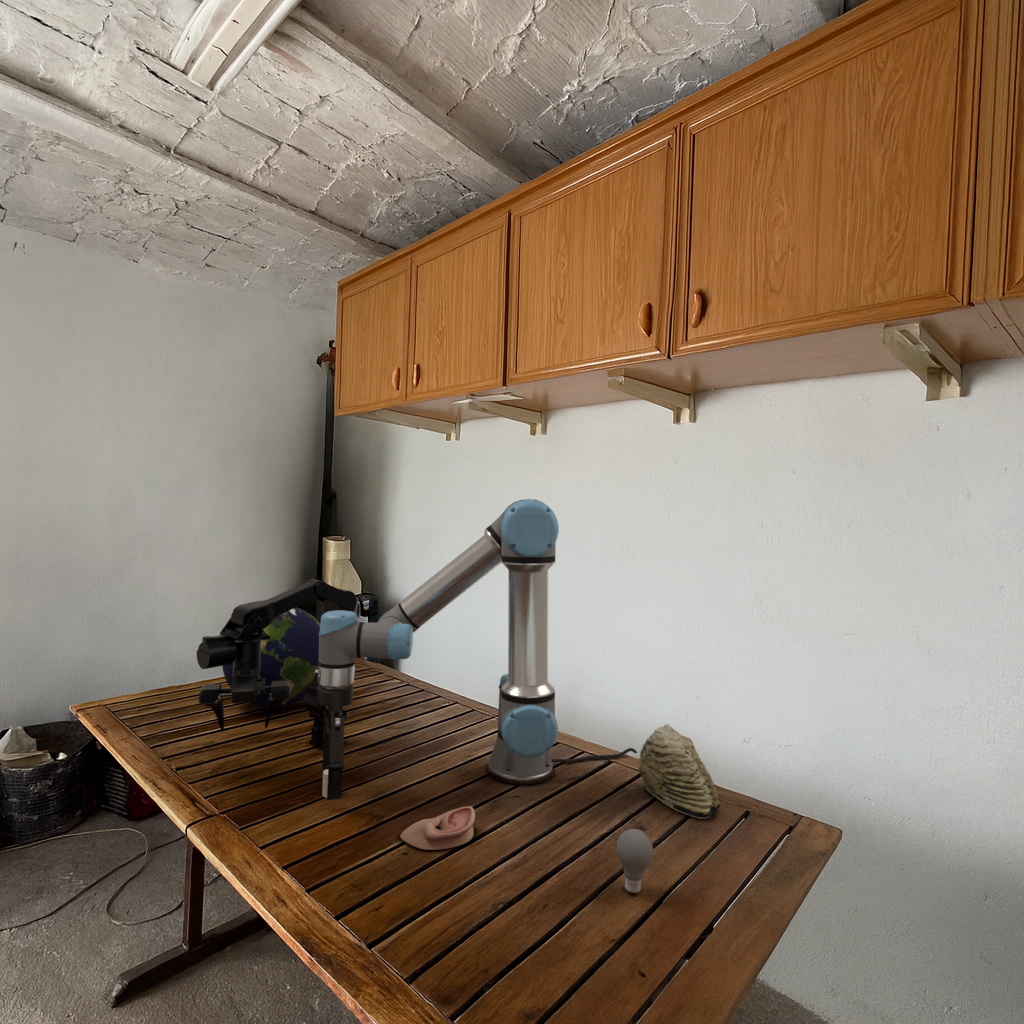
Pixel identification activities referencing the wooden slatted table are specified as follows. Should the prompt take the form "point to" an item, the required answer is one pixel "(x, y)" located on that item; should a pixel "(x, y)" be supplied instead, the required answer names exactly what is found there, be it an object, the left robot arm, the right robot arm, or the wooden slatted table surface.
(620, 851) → the light bulb
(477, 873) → the wooden slatted table surface
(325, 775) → the cylinder
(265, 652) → the globe
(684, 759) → the fossil
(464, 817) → the anatomical model
